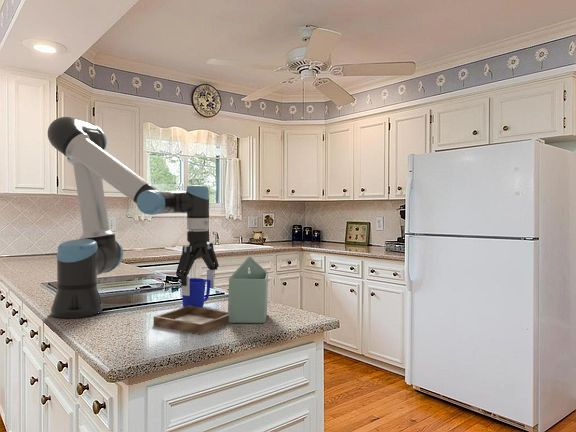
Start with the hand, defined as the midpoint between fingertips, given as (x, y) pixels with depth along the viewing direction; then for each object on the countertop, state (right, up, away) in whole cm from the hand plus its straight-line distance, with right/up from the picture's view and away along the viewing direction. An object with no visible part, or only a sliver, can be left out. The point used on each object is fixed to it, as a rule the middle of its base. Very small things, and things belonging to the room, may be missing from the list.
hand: (198, 291), depth 152 cm
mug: (-1, -6, 0) cm, 6 cm away
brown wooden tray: (+2, -7, -18) cm, 19 cm away
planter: (+21, -7, -14) cm, 26 cm away
